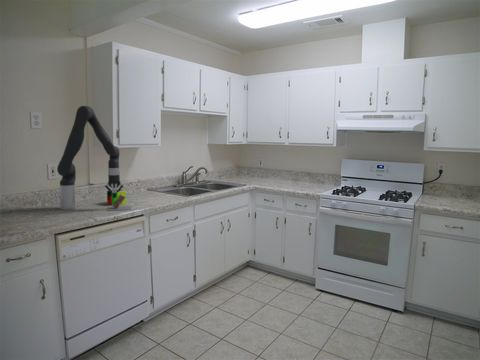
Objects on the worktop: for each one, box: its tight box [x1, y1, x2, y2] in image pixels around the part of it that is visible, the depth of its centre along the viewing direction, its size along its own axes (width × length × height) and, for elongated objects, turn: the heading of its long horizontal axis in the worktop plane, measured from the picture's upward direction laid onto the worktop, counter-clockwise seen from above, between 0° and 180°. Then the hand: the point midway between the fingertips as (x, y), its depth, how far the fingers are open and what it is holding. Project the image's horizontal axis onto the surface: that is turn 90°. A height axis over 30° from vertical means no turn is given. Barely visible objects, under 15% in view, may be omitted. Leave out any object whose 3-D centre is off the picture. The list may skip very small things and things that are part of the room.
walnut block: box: [111, 194, 125, 209], centre depth 237 cm, size 4×4×10 cm
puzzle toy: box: [106, 189, 127, 206], centre depth 254 cm, size 10×10×10 cm
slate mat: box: [107, 205, 132, 212], centre depth 238 cm, size 16×12×1 cm
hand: (114, 197), depth 236 cm, fingers closed
